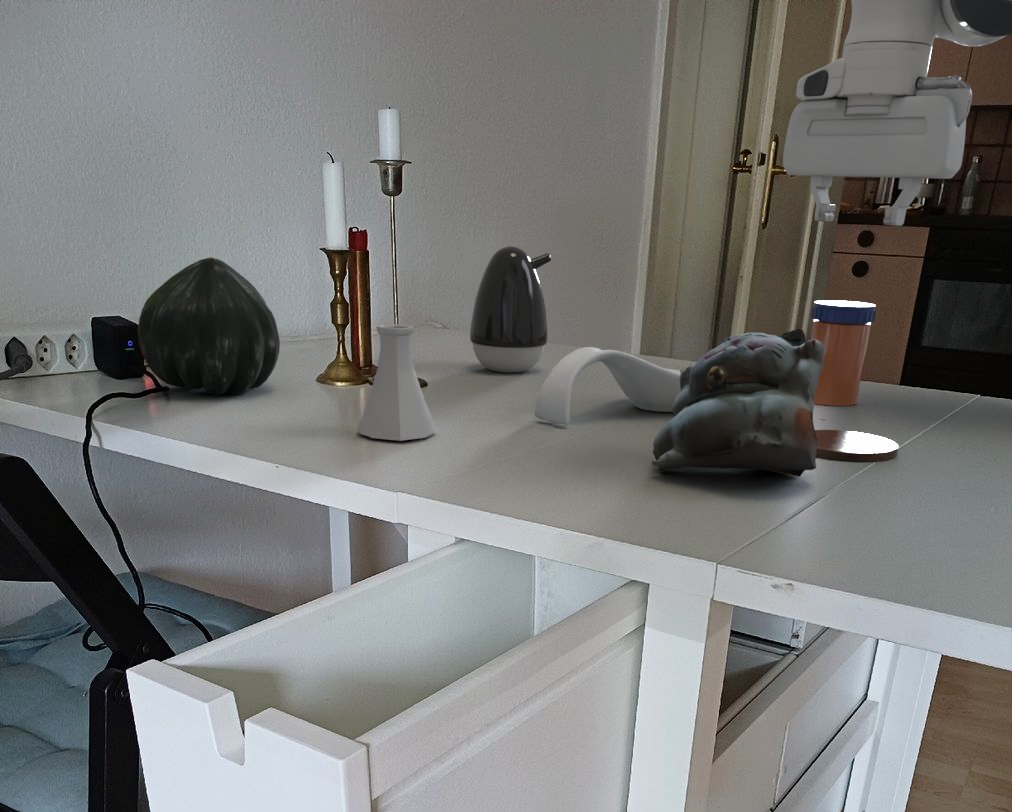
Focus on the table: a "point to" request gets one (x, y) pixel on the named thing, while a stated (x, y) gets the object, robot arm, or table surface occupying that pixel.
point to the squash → (209, 330)
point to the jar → (840, 361)
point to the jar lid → (844, 312)
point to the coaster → (854, 446)
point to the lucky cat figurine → (746, 407)
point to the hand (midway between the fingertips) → (857, 223)
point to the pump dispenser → (510, 312)
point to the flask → (396, 392)
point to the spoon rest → (631, 373)
